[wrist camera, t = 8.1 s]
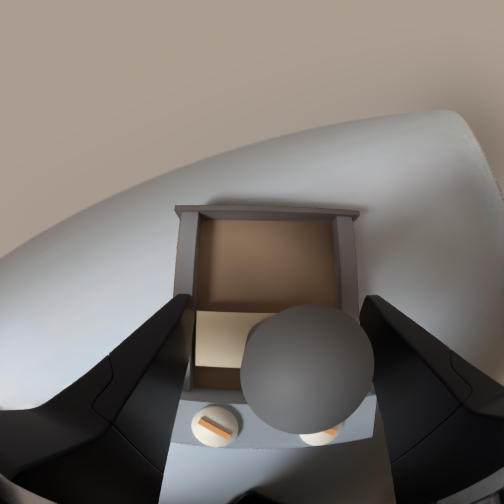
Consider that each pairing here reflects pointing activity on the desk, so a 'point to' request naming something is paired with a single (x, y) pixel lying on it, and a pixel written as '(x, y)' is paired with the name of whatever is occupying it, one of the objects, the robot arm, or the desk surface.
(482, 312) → the desk surface
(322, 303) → the open grey box
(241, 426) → the gauge cabinet
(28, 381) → the desk surface
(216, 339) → the grey cylinder
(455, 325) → the desk surface
